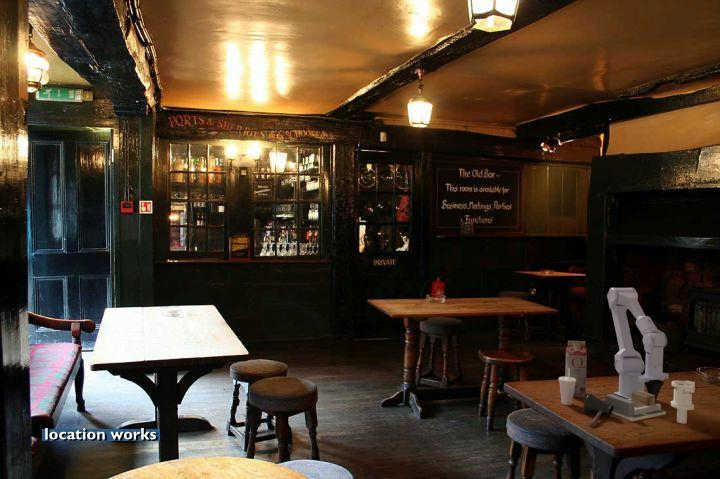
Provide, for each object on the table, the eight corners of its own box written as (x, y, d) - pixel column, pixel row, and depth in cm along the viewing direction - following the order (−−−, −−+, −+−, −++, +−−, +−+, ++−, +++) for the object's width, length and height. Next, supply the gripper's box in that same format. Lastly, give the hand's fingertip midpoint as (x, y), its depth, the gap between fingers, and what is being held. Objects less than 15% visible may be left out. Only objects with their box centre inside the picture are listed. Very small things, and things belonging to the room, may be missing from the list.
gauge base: (634, 403, 213) (635, 388, 213) (665, 414, 201) (666, 398, 201) (601, 409, 205) (602, 393, 205) (632, 421, 193) (632, 404, 193)
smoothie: (576, 406, 208) (577, 370, 207) (559, 405, 209) (560, 369, 209) (573, 401, 214) (574, 366, 214) (556, 400, 215) (557, 365, 215)
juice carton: (585, 397, 219) (587, 343, 218) (568, 396, 220) (569, 342, 220) (581, 392, 226) (583, 339, 225) (564, 391, 227) (566, 338, 226)
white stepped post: (690, 427, 189) (692, 384, 188) (667, 421, 193) (669, 380, 193) (695, 421, 194) (696, 380, 193) (673, 416, 199) (674, 376, 198)
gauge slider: (640, 403, 209) (640, 390, 209) (662, 411, 201) (663, 397, 200) (631, 405, 207) (631, 392, 207) (653, 413, 199) (653, 399, 198)
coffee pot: (590, 407, 206) (613, 417, 200) (569, 426, 193) (593, 436, 188) (592, 389, 204) (616, 398, 198) (571, 407, 192) (596, 417, 186)
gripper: (650, 368, 200) (649, 404, 201) (676, 364, 207) (675, 399, 207) (633, 363, 207) (632, 399, 207) (659, 360, 213) (658, 394, 213)
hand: (652, 399), depth 208 cm, fingers closed
